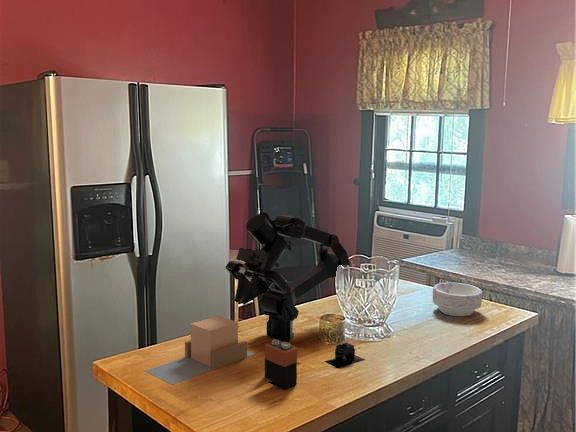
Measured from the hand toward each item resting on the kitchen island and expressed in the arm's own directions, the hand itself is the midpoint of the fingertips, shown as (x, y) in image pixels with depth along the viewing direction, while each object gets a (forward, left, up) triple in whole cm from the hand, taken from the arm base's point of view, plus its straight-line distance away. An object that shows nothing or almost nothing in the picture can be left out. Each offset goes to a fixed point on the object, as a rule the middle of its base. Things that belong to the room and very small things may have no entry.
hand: (239, 302), depth 158 cm
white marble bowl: (-57, -50, -14) cm, 77 cm away
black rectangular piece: (-28, -2, -14) cm, 31 cm away
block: (+4, +7, -12) cm, 15 cm away
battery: (-15, +16, -14) cm, 26 cm away
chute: (+6, +11, -14) cm, 18 cm away
